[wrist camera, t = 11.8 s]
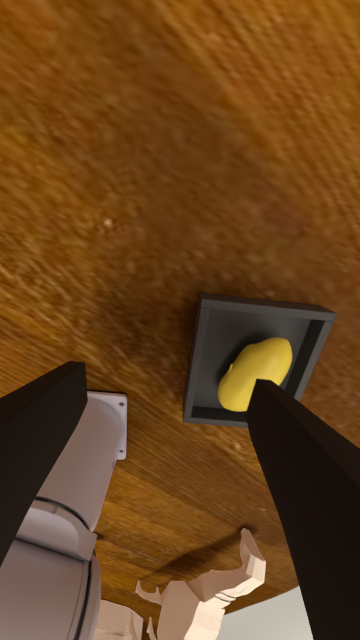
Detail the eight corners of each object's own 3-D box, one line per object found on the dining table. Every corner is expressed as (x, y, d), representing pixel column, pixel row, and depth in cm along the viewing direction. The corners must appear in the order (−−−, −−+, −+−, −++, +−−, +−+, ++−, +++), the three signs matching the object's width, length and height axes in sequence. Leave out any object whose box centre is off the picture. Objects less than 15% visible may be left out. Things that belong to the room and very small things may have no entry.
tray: (278, 414, 21) (287, 431, 19) (182, 406, 21) (182, 422, 19) (320, 305, 17) (337, 313, 15) (199, 292, 16) (201, 298, 15)
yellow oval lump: (201, 380, 19) (206, 412, 15) (261, 318, 17) (284, 339, 13) (233, 400, 20) (245, 435, 16) (294, 344, 18) (324, 371, 14)
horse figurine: (172, 518, 44) (272, 537, 28) (144, 659, 31) (292, 825, 16) (155, 510, 43) (248, 525, 27) (118, 652, 30) (251, 825, 15)
